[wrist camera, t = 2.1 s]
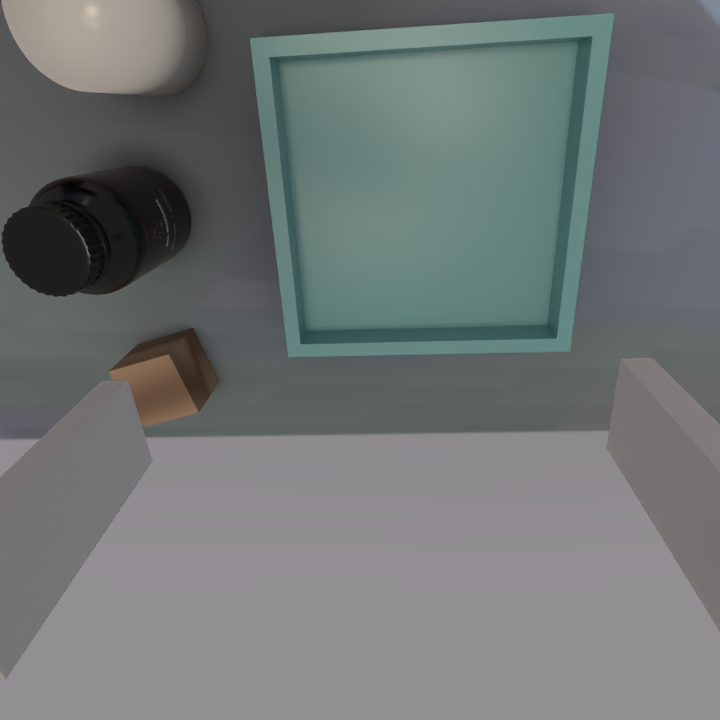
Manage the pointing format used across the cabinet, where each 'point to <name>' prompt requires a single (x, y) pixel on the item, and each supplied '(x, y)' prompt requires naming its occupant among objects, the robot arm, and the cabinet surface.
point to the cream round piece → (112, 43)
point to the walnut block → (167, 377)
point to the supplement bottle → (96, 231)
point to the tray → (431, 182)
